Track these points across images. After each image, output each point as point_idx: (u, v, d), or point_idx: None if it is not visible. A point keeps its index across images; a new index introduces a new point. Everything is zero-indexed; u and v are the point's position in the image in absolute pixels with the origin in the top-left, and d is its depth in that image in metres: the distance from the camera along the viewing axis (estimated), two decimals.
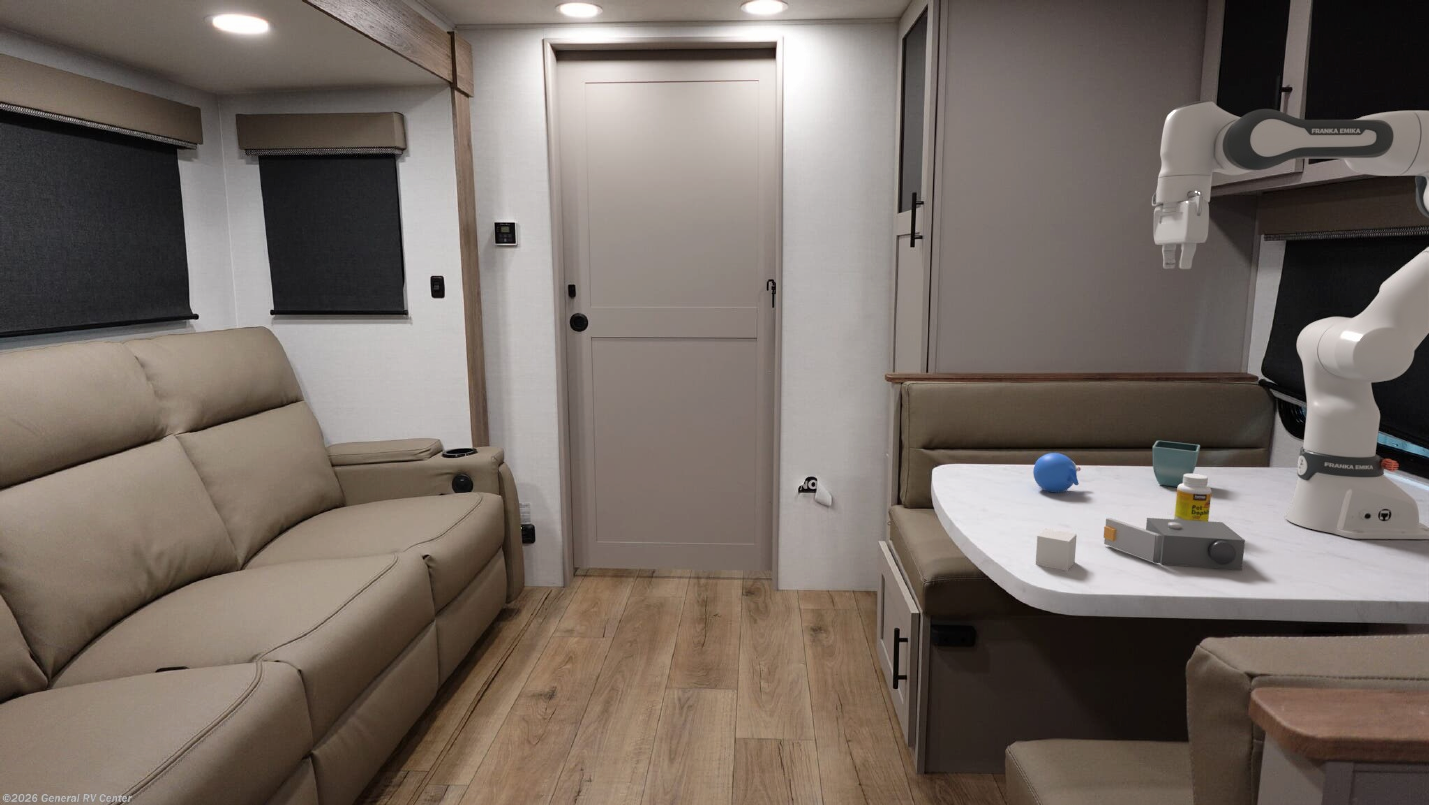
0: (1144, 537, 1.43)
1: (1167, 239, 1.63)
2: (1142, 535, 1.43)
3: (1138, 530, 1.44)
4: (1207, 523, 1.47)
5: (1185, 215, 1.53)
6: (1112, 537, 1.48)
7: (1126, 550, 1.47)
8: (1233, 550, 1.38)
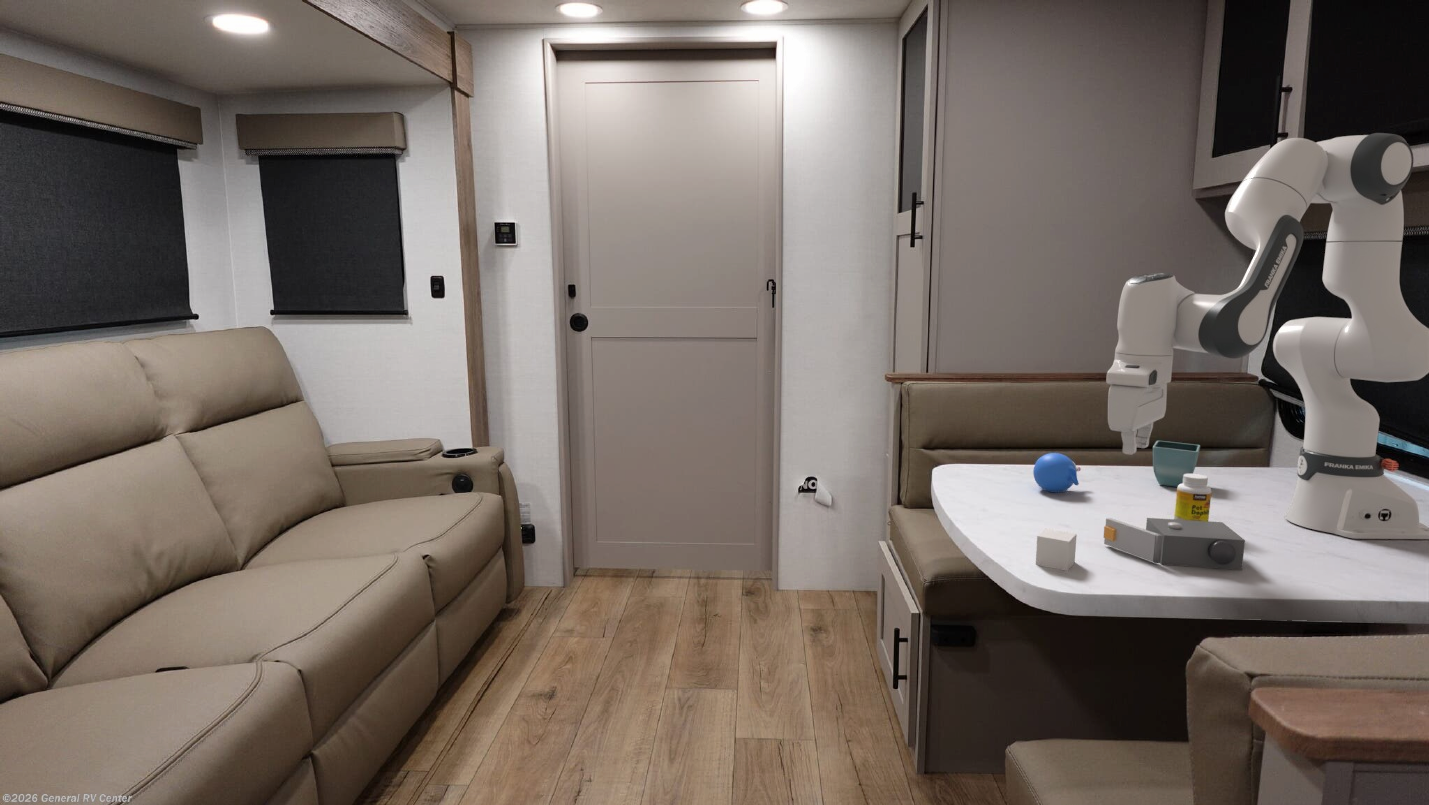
0: (1144, 537, 1.43)
1: (1147, 421, 1.45)
2: (1142, 535, 1.43)
3: (1138, 530, 1.44)
4: (1207, 523, 1.47)
5: (1165, 392, 1.52)
6: (1112, 537, 1.48)
7: (1126, 550, 1.47)
8: (1233, 550, 1.38)
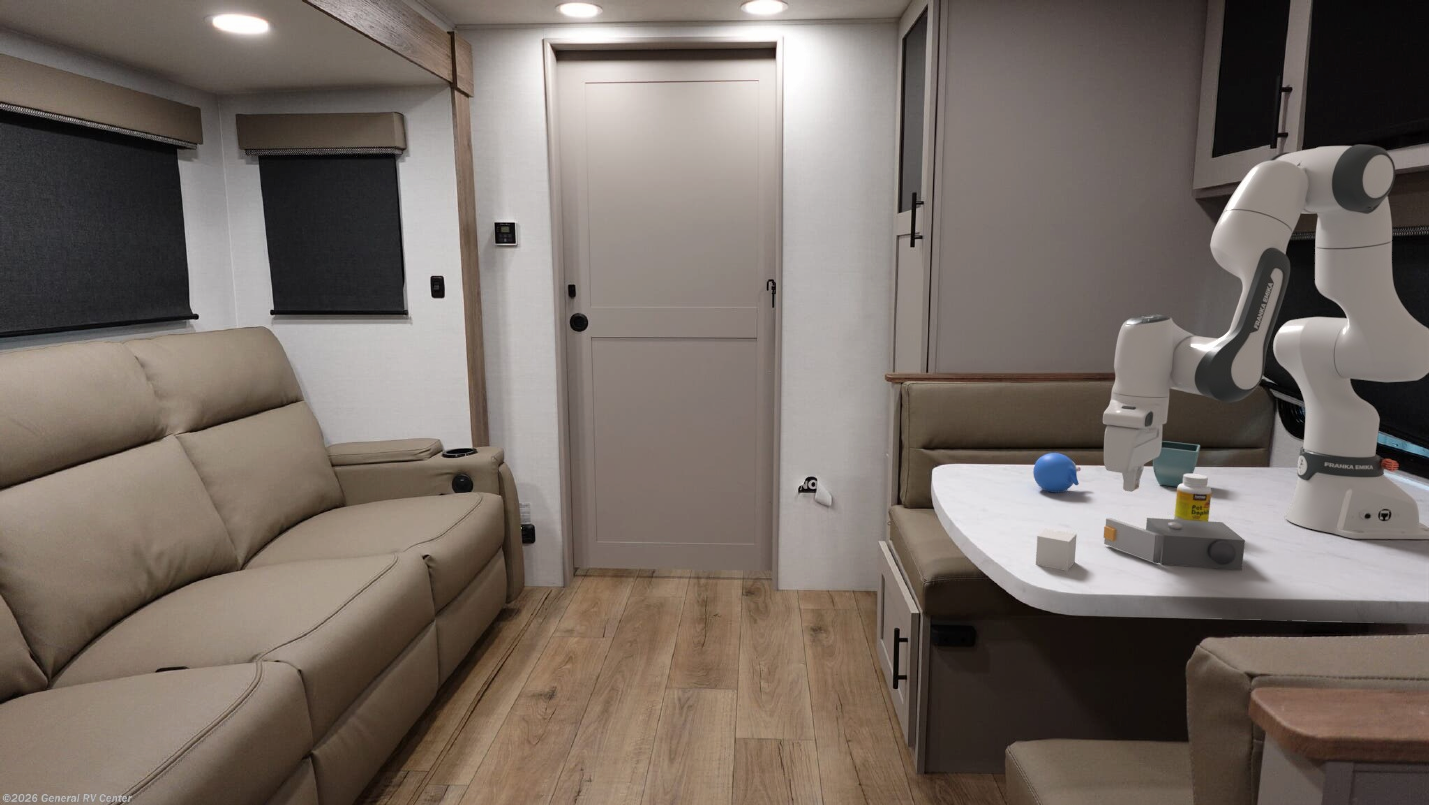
0: (1144, 537, 1.43)
1: (1143, 461, 1.46)
2: (1142, 535, 1.43)
3: (1138, 530, 1.44)
4: (1207, 523, 1.47)
5: (1161, 431, 1.53)
6: (1112, 537, 1.48)
7: (1126, 550, 1.47)
8: (1233, 550, 1.38)
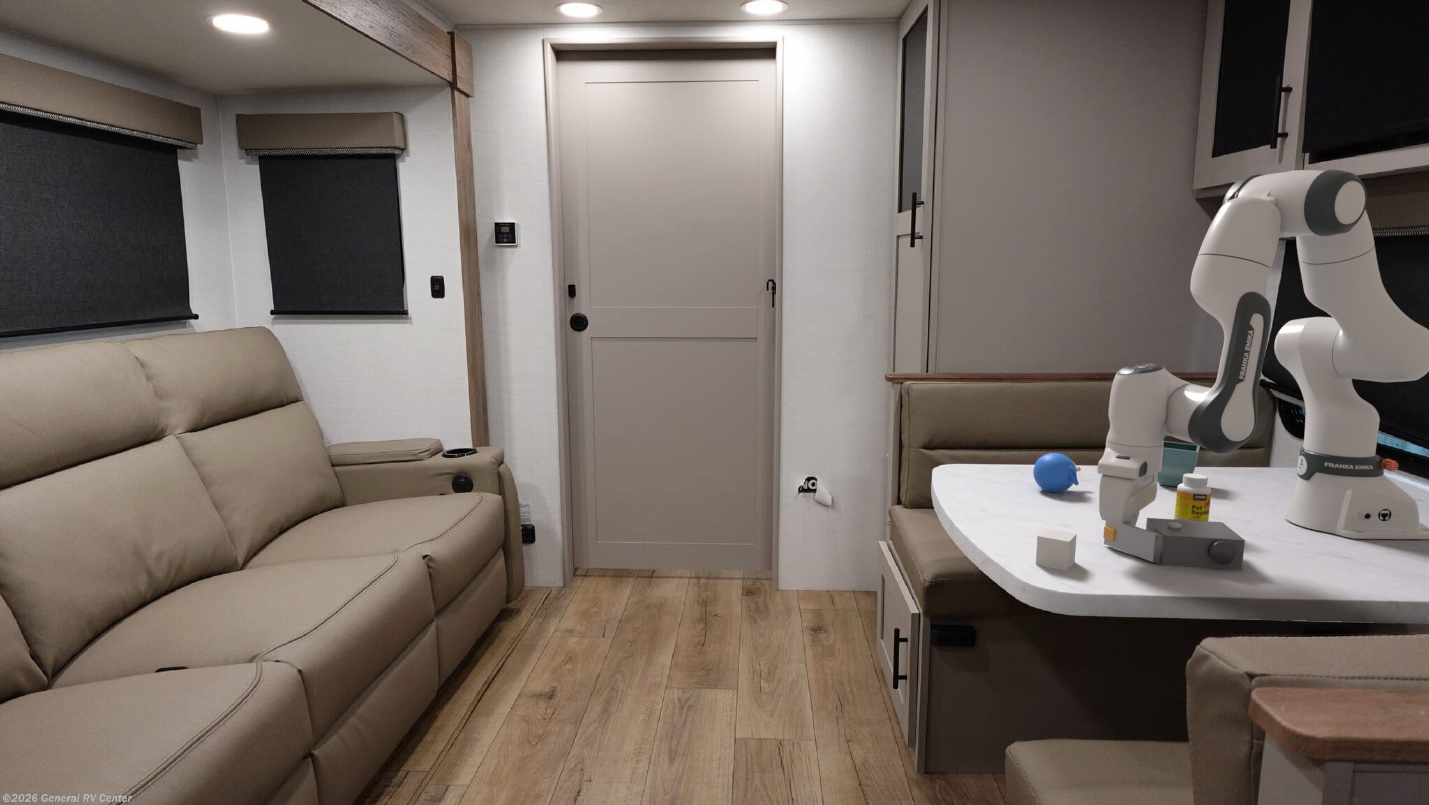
0: (1144, 537, 1.43)
1: (1138, 509, 1.47)
2: (1142, 535, 1.43)
3: (1138, 530, 1.44)
4: (1207, 523, 1.47)
5: (1156, 476, 1.54)
6: (1112, 537, 1.48)
7: (1126, 550, 1.46)
8: (1233, 550, 1.38)
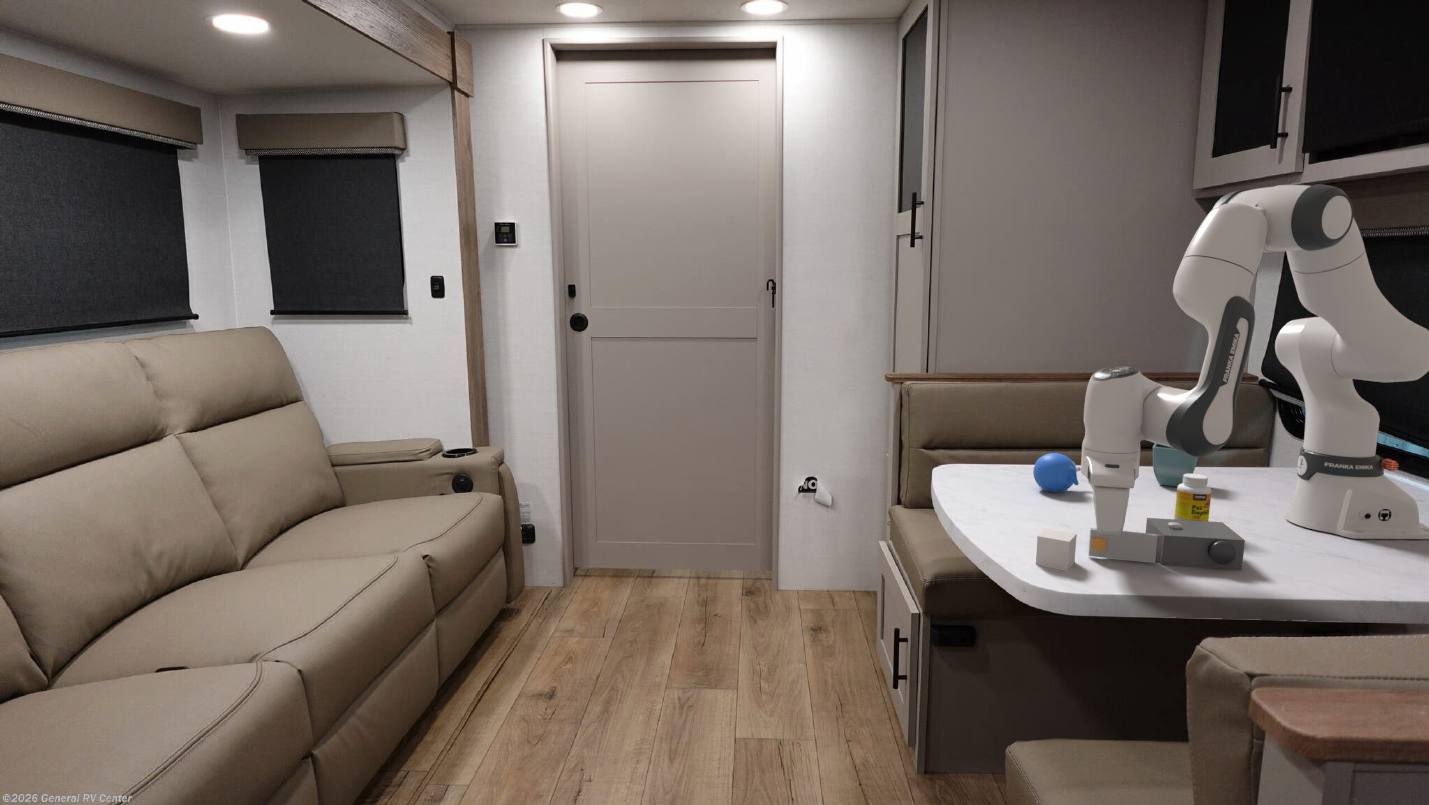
0: (1143, 540, 1.41)
1: None
2: (1140, 539, 1.42)
3: (1135, 534, 1.42)
4: (1207, 523, 1.47)
5: None
6: (1104, 547, 1.43)
7: (1119, 557, 1.43)
8: (1233, 550, 1.38)
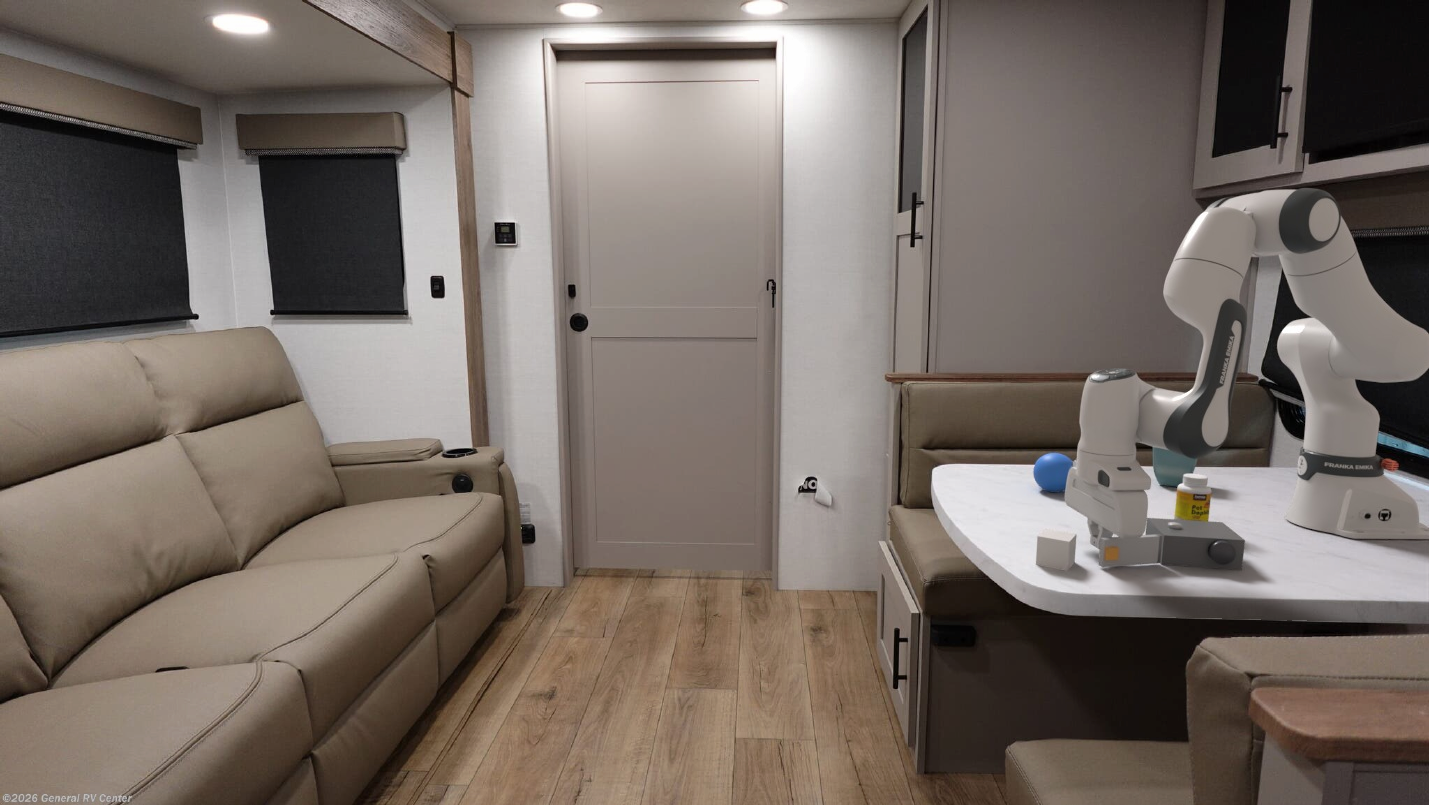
0: (1148, 543, 1.40)
1: None
2: (1146, 541, 1.40)
3: (1141, 538, 1.40)
4: (1207, 523, 1.47)
5: None
6: (1117, 556, 1.39)
7: (1128, 563, 1.40)
8: (1233, 550, 1.38)
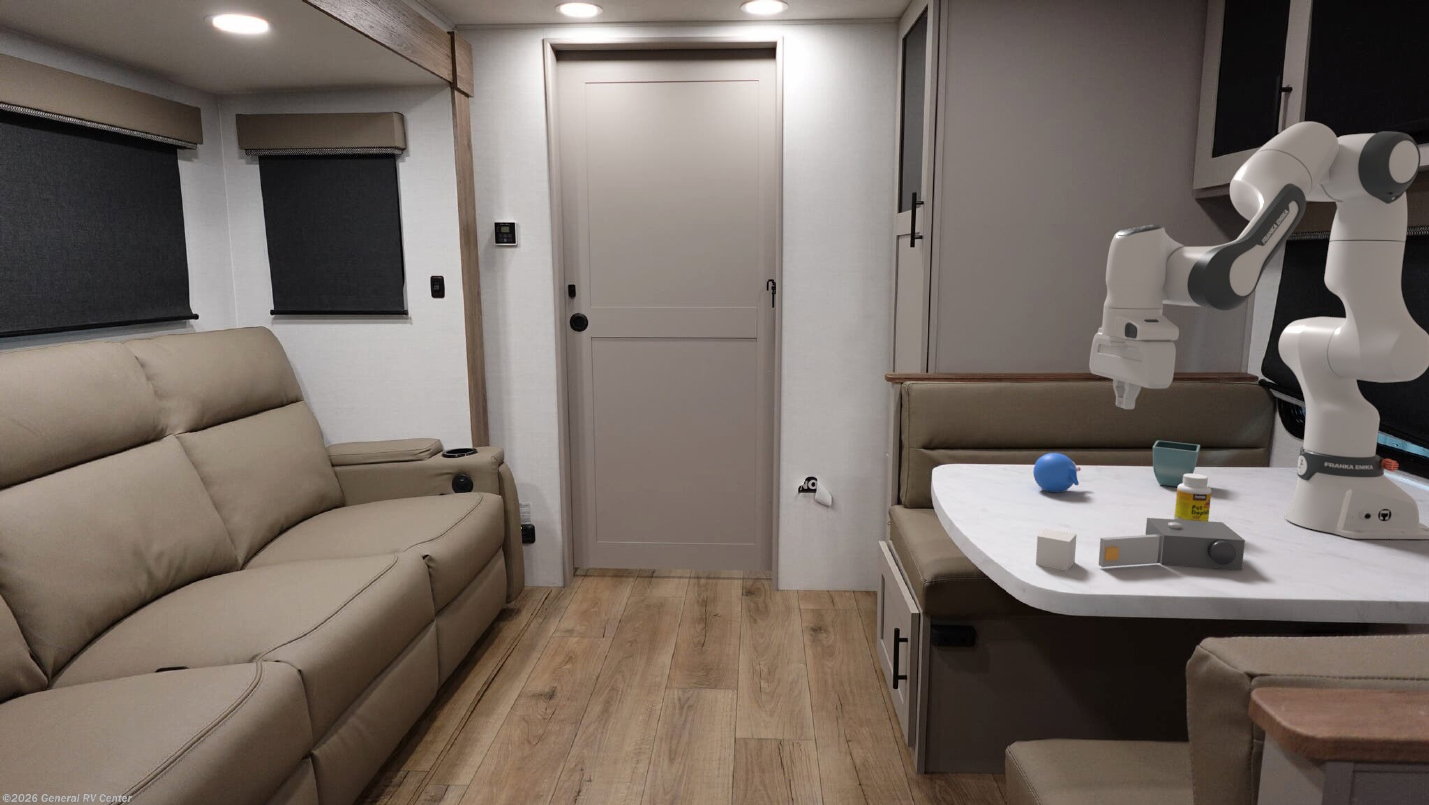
0: (1148, 543, 1.40)
1: None
2: (1146, 541, 1.40)
3: (1141, 538, 1.40)
4: (1207, 523, 1.47)
5: None
6: (1117, 556, 1.39)
7: (1128, 563, 1.40)
8: (1233, 550, 1.38)
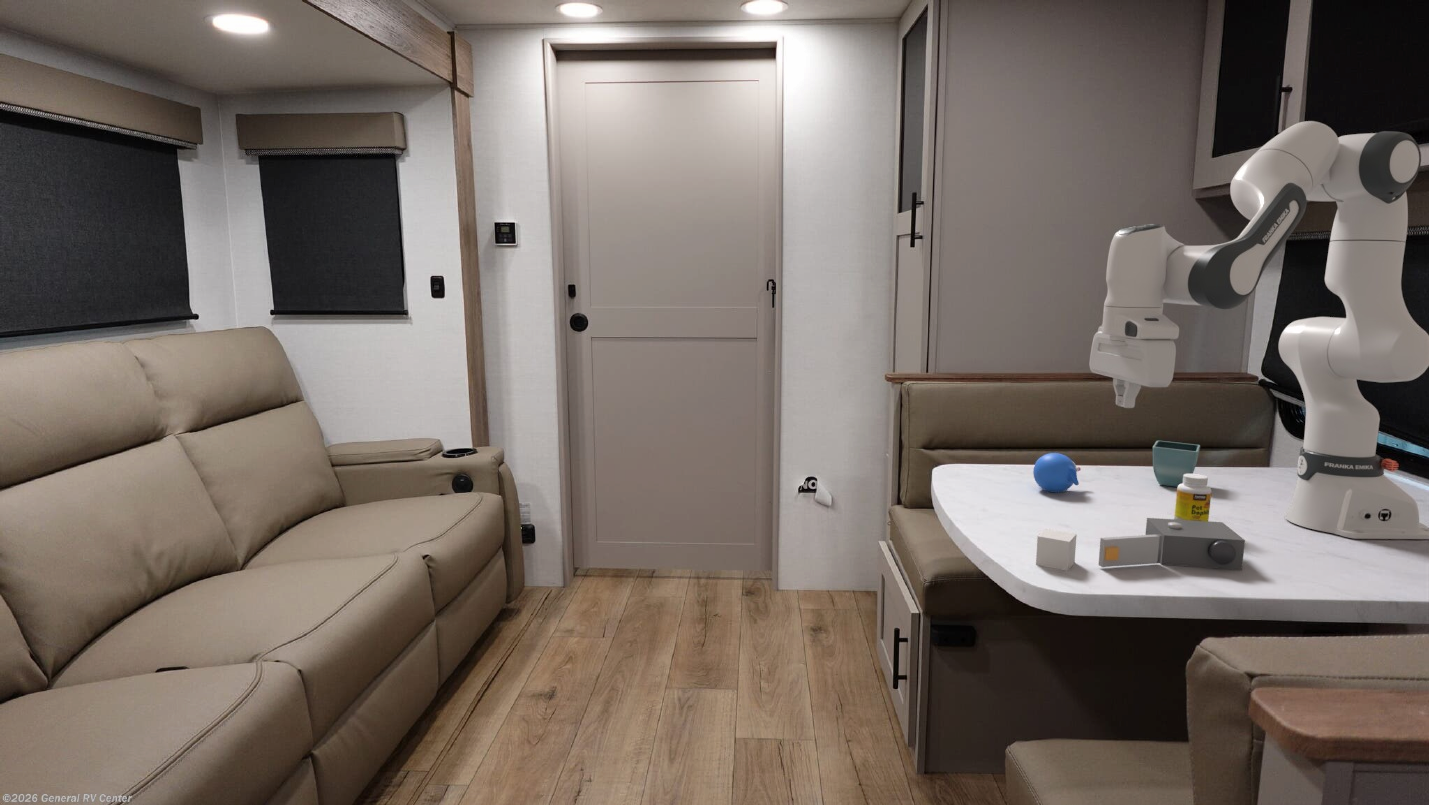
0: (1148, 543, 1.40)
1: None
2: (1146, 541, 1.40)
3: (1141, 538, 1.40)
4: (1207, 523, 1.47)
5: None
6: (1117, 556, 1.39)
7: (1128, 563, 1.40)
8: (1233, 550, 1.38)
